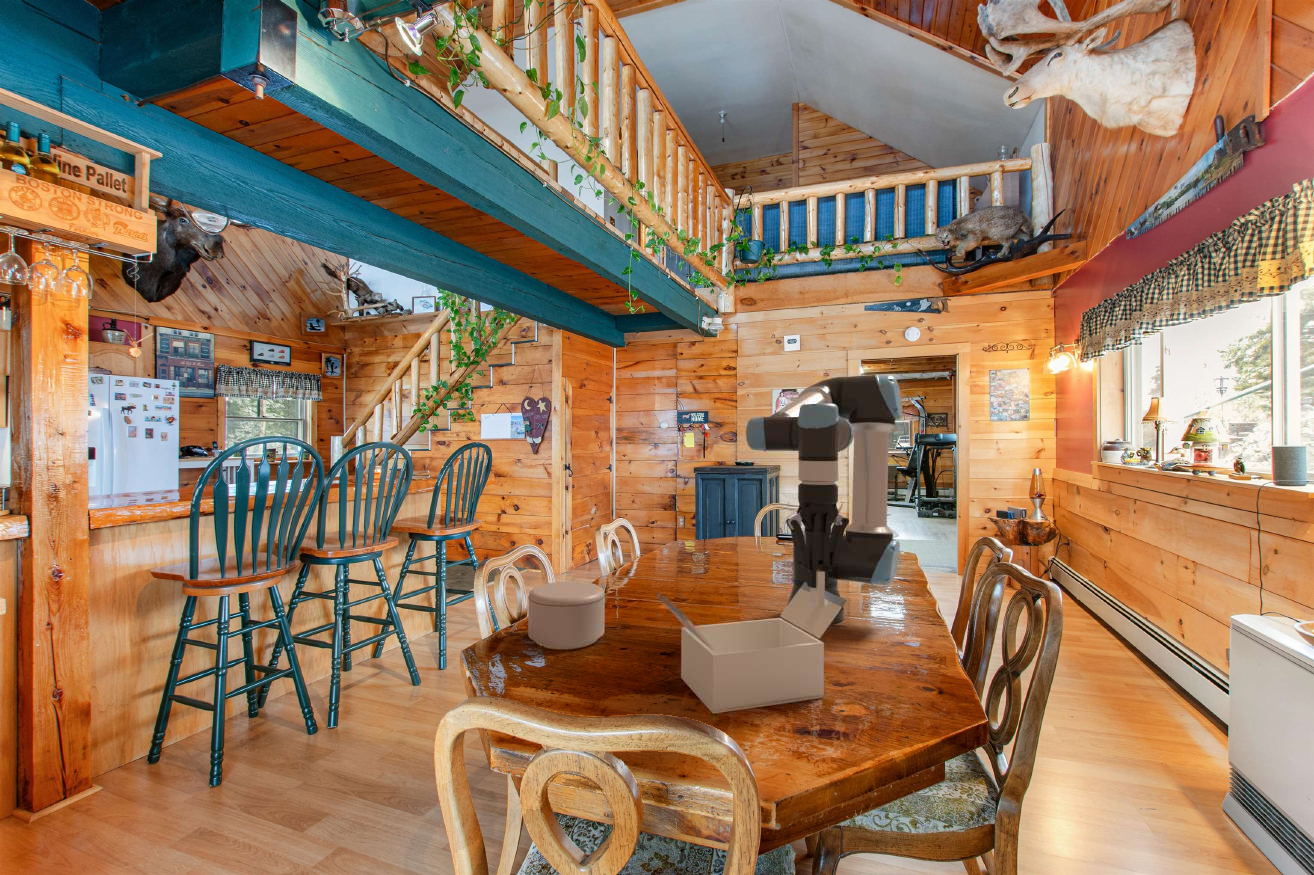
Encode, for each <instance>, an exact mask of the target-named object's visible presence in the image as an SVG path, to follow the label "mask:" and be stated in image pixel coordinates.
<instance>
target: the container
mask: <svg viewBox="0 0 1314 875" xmlns="http://www.w3.org/2000/svg"><path fill="white" fill-rule="evenodd" d="M605 597H606V594H605V591H604V589H603V588H602V587H601V586H599V585H598V584H595V583H592V582H587V581H572V580H570V581H568V580H567V581H566V580H565V581H555V582H548V583H545V584H544V583H543V584H541V585H538V586H535V587H534V588H532V589H531V590H530V592H529V594H528V597H527V598H528V613H527V614H528V623H527V625H528V631H527V634H528V637H529V639H530V640H532V641H534V642H536V643H537V644H536V643H535V644H536V645H538V644H539V645H540V647H542V646H544V647H543V648H545V647H546V649H552V650H573V649H581V648H585V647H587V646H591V645H593V644H594V643H596V642H597V641H598V639H600V638H601V637H602V636H603V635H604V634H605V611H606V609H605V607H606V606H605V603H606V602H605V601H606V599H605ZM539 645H538V646H539Z"/></svg>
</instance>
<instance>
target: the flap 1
mask: <svg viewBox="0 0 1314 875" xmlns="http://www.w3.org/2000/svg"><path fill="white" fill-rule="evenodd" d="M656 597H657V598H659V599H660V601H661V602H662V603H663V604H664V605H665V606H666V608H668V610H669V611H670V612H671V613H672V614H673V615H674V616H675V618H677V620H678V621H679V622H680V623H681V625H683V627H686V628H687V629H688V630H689V631H691V632H692V633H693V634H694V635H695V636H696V637H698V638H699V639H700V640H701V641H702V642H703V643H704V644H706V645H707V646H708V647H709V648H710V649H711V650H713V649H714V647H713V646H712V645H711V644H710V643H709V642H708V641H707V639H706V638H705V637H704V636H703V635H702V634H701V633H700V632H699V631H698V629H697V628H696V627H695V626H696V625H694V624H693V623H692V621H690V619H689V618H688V617H687V616H686V615H685V613H683V612H682V611H681V610H680V609H679V608H678V607H676V606H675V605H673V603H671V602H670V601H668V600H667V599H666V598H665V597H663V596H662V595H661V594H660V593H657V594H656Z"/></svg>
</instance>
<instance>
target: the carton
mask: <svg viewBox="0 0 1314 875" xmlns="http://www.w3.org/2000/svg"><path fill="white" fill-rule="evenodd" d="M694 626H695V627H696V628H697V629H698V631H699V632H700V633H701V634H702V635H703V636H704V637H705V638H706V639H707V641H708V642H709V643H710V644H711V645H712V646H713V647H714V649H713V650H711V649H710V648H709V647H708V646H707V645H706V644H704V643H703V642H702V641H701V640H700V639H699V638H698V637H696V636H695V635H694V634H693V633H692V632H691V631H689V630H688V629H687V628H686V627H685V626H683V627H682V626H681V632H680V633H681V635H680V636H681V643H680V644H681V645H680V646H681V649H680V650H681V651H680V654H681V657H680V658H681V659H680V660H681V662H680V664H681V667H680V672H681V673H680V677H681V679H682V680H683V682H684V683H685V684H686V685H687V686H688V687H689V688H690V689H691V691H692V692H693V693H694V694H695V695H696V697H698V699H700V701H701V702H702V703H703V704H704V705H705V706H706V708H707V709H708V710H709V711H710V712H711V714H720V713H726V712H732V711H739V710H746V709H755V708H759V707H760V708H762V707H766V706H767V707H768V706H774V705H776V706H777V705H782V704H788V703H795V702H801V701H802V702H803V701H807V700H808V701H809V700H815V699H816V700H817V699H822V698H825V697H824V696H825V695H824V694H825V693H824V691H825V690H824V689H825V685H824V682H825V668H824V667H825V665H824V664H825V642H823V641H821V640H819V638H817V637H815V636H814V635H812V634H810V633H808V632H807V631H805V630H803V629H801V628H800V627H798V626H796V625H794V624H793V623H791V622H789V621H787V620H786V619H784V618H782V617H777V618H766V619H765V618H764V619H757V620H755V619H754V620H753V619H752V620H745V621H734V622H723V623H714V624H704V625H701V624H700V625H694Z"/></svg>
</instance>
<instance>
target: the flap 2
mask: <svg viewBox="0 0 1314 875" xmlns="http://www.w3.org/2000/svg"><path fill="white" fill-rule="evenodd" d="M846 603H847V599H845V598H843V597H841V596H840V597H839V596H836V595H834V594H832V593H829V592H827V591H825V605H824V606H817V605H815V604H813V603H810V587H808V585H807V583H806V582H804V584H803V585H802V586H801V588H800V589H799V590H798V592H797V593H796V594H795V596H794V597H793V599H792V600H791V601H790V603H789V604H788V605H787V604H786V606H787V607H785V608H784V610H783V611H782V612H781V613H780V615H779V617H780V618H781V619H783V620H785V621H786V622H788V623H790V624H792V625H793V626H795V627H797V628H799V629H801V630H802V631H804V632H806V633H808V634H809V635H811V636H813V637H815V638H816V639H818V640H819V639H821V637H823V635H824V633H825V632H826V630H827V629H828V628H829V626H830V625H831V624H832V623H831V622H832V621H833V619H834V618H835V616H836V615H837V614H838V612H839V611H840V609H841V608H842V607H844V605H845V604H846Z"/></svg>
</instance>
